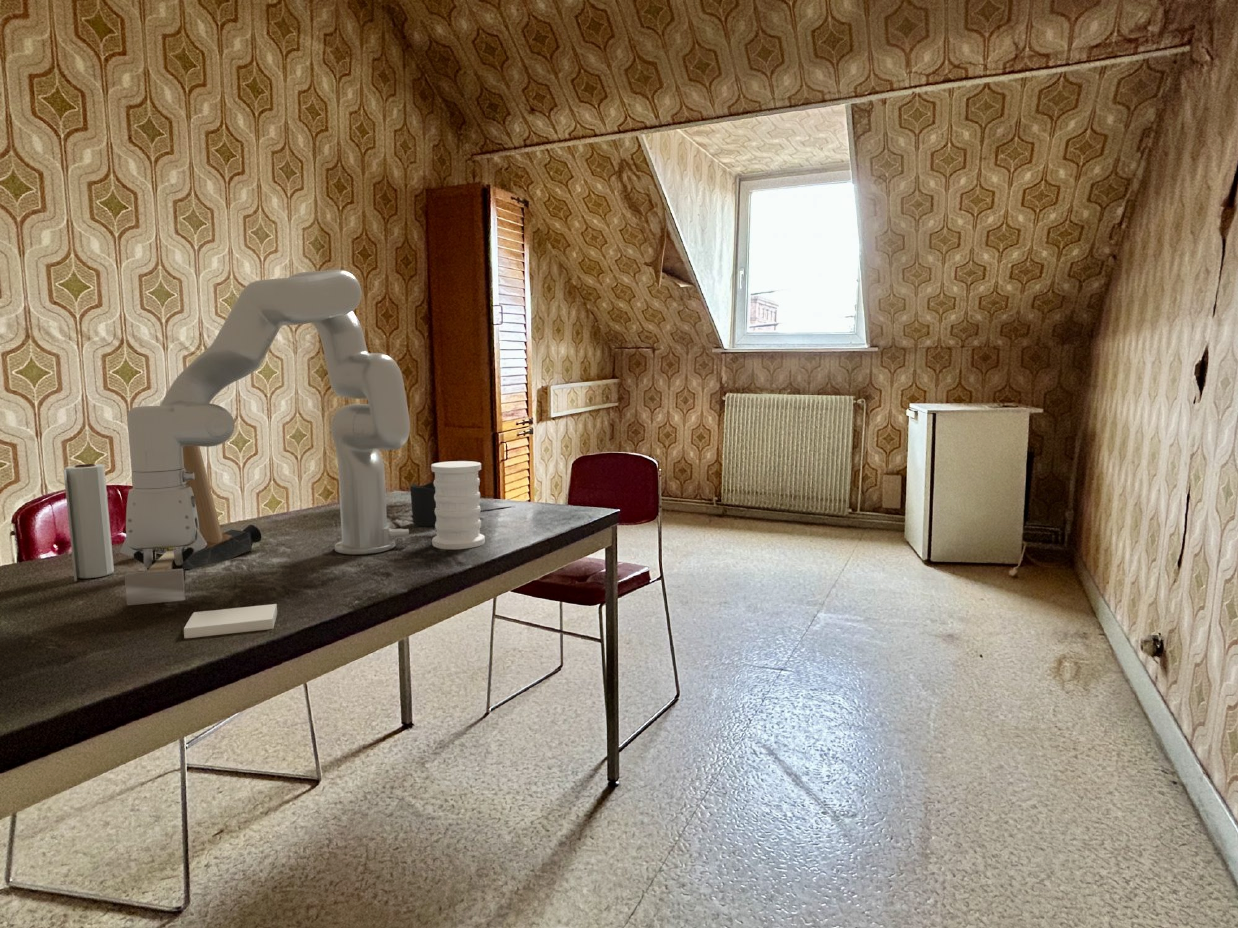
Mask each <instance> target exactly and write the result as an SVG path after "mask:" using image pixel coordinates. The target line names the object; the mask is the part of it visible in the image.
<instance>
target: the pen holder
mask: <svg viewBox="0 0 1238 928" xmlns="http://www.w3.org/2000/svg"><path fill="white" fill-rule="evenodd" d="M409 487H410V490H409V491H410V500H411V501H410V502H411V515H412V522H413V523H412V524H413V525H414V526H416V527H422V528H424V527H425V528H432V527H433V528H435V523H436V515H435V512H434V511H435V508H436V501H435V499H434V494H435V487H434V481H432V482H428V483H426V484H423V485H417V484H413V483H412V484H410V485H409Z"/></svg>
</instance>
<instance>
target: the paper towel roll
mask: <svg viewBox="0 0 1238 928" xmlns="http://www.w3.org/2000/svg"><path fill="white" fill-rule="evenodd" d="M63 479H64V488H65V499H66V508H67V519H68V520H67V521H68V527H69V539H70V548H71V558H72V565H73V566H72V568H73V580H74V582H77V581H78V579H92V578H93V579H94V578H101V577H106V576H109V575H111V574H113V573H114V572H115V567H114V558H113V557H114V555H113V545H112V544H113V543H112V536H111V525H110V513H109V512H110V511H109V504H108V495H107V494H108V493H107V491H108V490H107V483H106V472H105V465H104V464H102V463H101V464H100V463H99V464H97V463H85V464H84V463H83V464H76V465H69V466H65V467H64V468H63Z"/></svg>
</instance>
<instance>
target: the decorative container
mask: <svg viewBox="0 0 1238 928" xmlns="http://www.w3.org/2000/svg"><path fill="white" fill-rule="evenodd" d="M430 467H431V469H430V470H431V472H432V473H434V480H433V482H434V487H435V494H434V499H435V501H436V508H435V511H434V512H435V515H436V523H435V526H434V528H435V530H436V535H435V536H434V537H432V540H431V541H432V543H431V544H432V546H433V547H434V548H437V549H441V550H465V549H466V550H467V549H472V548H473V549H474V548H477V547H481V546H482V545H484V544H485V543H486V539H485V537H486V536H485V535H484V534H482V533H481V529H480V528H481V527H482V521H481V519H480V514H481V511H482V508H481V505H480V500H481V492H480V489H479V486H480V482H481V479H480V477H479V471H481V470H482V463H481V462H478V461H470V460H469V461H468V460H457V461H456V460H455V461H454V460H453V461H441V462H440V461H439V462H435V463H431V465H430Z"/></svg>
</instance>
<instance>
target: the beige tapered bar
mask: <svg viewBox="0 0 1238 928" xmlns="http://www.w3.org/2000/svg"><path fill="white" fill-rule="evenodd" d="M156 560H157V561H156V562H155V563H154V564H153V565H152V566H151V567H150V568H149V569H148V570H147V569H146V571H134V572H126V573H125V574H124V585H125V596H126V606H134V605H135V606H137V605H146V604H156V603H158V604H159V603H167V602H168V603H169V602H180V601H185V600H186V587H185V581H184V572H183V569H172V567H173V565H174V561H175V559H174V551H167V552H166V553H164V554H163V555H162V556H161V557H160V558H158V559H156Z"/></svg>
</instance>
